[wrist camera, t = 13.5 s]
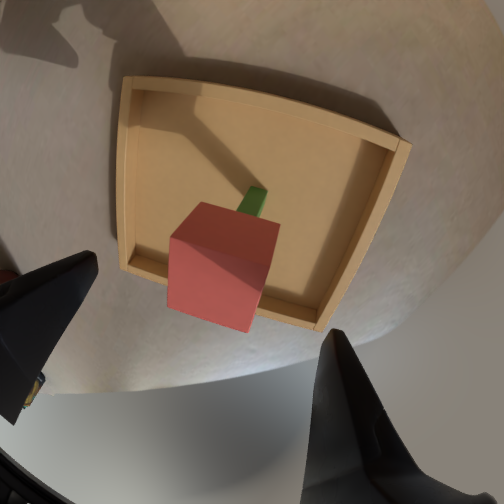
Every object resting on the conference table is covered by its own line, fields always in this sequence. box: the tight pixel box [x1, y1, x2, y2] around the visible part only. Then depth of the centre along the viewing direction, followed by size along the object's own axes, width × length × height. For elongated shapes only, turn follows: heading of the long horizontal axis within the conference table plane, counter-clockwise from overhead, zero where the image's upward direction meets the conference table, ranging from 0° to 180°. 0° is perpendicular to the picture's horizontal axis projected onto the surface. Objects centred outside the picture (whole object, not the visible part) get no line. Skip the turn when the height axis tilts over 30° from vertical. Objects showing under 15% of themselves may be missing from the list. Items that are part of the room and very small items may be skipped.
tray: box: [116, 75, 412, 332], centre depth 18 cm, size 17×15×2 cm
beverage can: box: [23, 372, 45, 409], centre depth 49 cm, size 7×7×12 cm
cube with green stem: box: [167, 186, 281, 333], centre depth 14 cm, size 3×3×9 cm
